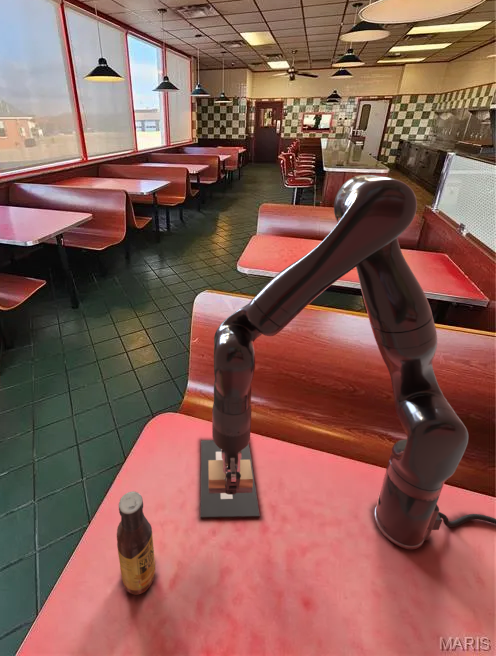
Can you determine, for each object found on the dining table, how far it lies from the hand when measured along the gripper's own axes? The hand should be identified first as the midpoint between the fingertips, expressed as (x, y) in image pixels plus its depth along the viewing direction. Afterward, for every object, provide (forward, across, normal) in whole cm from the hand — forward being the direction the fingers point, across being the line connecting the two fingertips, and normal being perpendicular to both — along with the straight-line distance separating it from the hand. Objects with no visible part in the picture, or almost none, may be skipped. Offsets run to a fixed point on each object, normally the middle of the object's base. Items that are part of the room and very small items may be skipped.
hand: (229, 480), depth 70 cm
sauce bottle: (+10, -12, +18) cm, 24 cm away
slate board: (+10, +8, 0) cm, 13 cm away
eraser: (+1, 0, 0) cm, 1 cm away
